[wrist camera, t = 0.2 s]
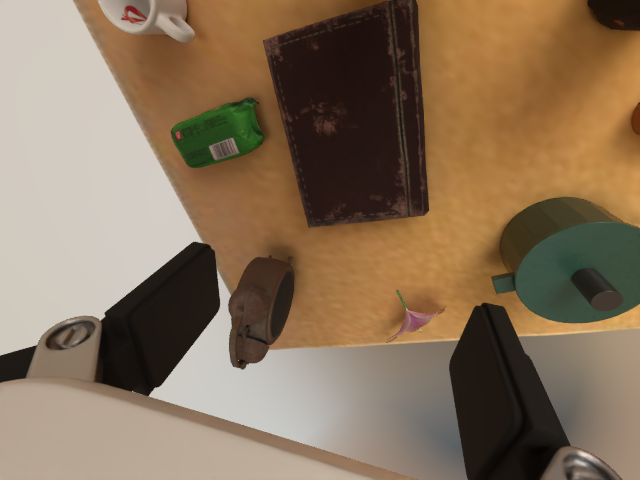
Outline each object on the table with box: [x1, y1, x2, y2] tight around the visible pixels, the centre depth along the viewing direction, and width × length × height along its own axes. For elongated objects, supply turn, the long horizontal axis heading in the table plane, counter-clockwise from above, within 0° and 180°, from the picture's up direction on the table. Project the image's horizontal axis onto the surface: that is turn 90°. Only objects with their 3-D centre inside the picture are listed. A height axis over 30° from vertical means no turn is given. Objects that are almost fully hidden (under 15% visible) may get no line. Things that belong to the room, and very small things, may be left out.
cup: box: [97, 0, 195, 43], centre depth 37 cm, size 11×8×8 cm
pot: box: [491, 197, 625, 294], centre depth 40 cm, size 14×19×8 cm
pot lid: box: [514, 220, 640, 323], centre depth 34 cm, size 15×15×6 cm
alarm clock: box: [228, 255, 294, 369], centre depth 50 cm, size 14×7×20 cm, turn 176°
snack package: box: [171, 97, 265, 168], centre depth 45 cm, size 7×16×5 cm, turn 108°
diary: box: [263, 0, 429, 228], centre depth 40 cm, size 19×25×5 cm
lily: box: [386, 290, 445, 343], centre depth 51 cm, size 12×12×10 cm
